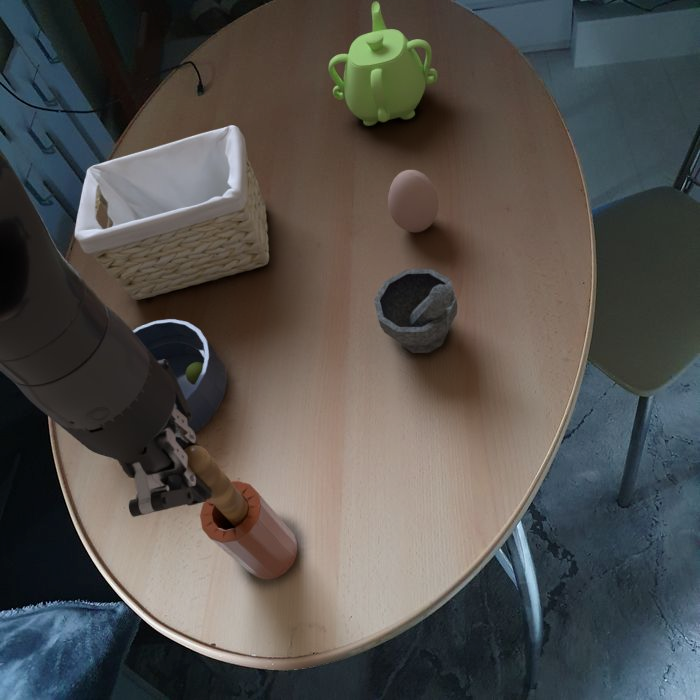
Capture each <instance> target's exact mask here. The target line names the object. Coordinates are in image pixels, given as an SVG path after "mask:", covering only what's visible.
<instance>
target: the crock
mask: <svg viewBox="0 0 700 700" xmlns="http://www.w3.org/2000/svg"><path fill="white" fill-rule="evenodd" d="M231 482H232V483H233V485H234V486H235V487H236V488H237V490H238V491H239V492H240V494H241V495H242V496H243V497H244V499H245V500H246V501H247V502H248V506H249V510H248V514H247V517H246V518H245V520H244V521H243V522H242V524H240V525H239V526H237V527H236V528H235V527H234V526H233V525H232V524H231V523H230V521H229V520H228V519H227V518H226V517H225V516H224V515H223V514H222V513H221V511H220V510H219V509H218V508H217V507H216V506H215V505H214V504H213V503H212V502H211V500H210V499H207V500H206V502H203V503H202V507H201V511H200V514H199V516H200V523H201V529H202V531H203V532H204V533H205V534H206V536H207V537H208V538H209V539H210V540H211V541H212V542H214V544H216V545H217V546H218V547H219V548H220V549H222V550H223V551H224V552H225V553H226V554H228V555H229V556H230V557H231V558H232V559H233V560H234V561H235V562H236V563H238V564H239V565H240V566H241V567H243V568H244V569H245V570H246V571H247V572H248V573H250V574H251V575H253V576H254V577H256V578H259V579H260V580H261V579H262V580H272V579H277V578H279V577H281V576H282V575H284V574H285V573H287V572H288V571H289V570H290V568H291V567H292V566H293V564H294V563H295V561H296V558H297V554H298V542H297V538H296V537H295V534H294V532H293V531H292V530H291V529H290V528H289V527H288V525H287V524H286V523H285V522H284V521H283V520H282V519H281V517H280V516H279V515H278V514H277V513H276V512H275V510H274V509H273V508H272V507H271V506H270V505H269V503H267V501H266V500H265V498H263V497H262V496H261V495H260V493H259V492H258V491H257V490H256V489H255V488H254V487H253V486H252V484H250V483H247V482H245V481H241V480H234V481H231Z"/></svg>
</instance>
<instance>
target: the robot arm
mask: <svg viewBox="0 0 700 700" xmlns="http://www.w3.org/2000/svg"><path fill="white" fill-rule="evenodd" d="M0 372H1V373H2V374H4V375H5V376H6V377H7V378H8V379H9V380H11V381H12V383H14V384H15V385H16V387H17V388H18V389H19V390H20V392H21V393H22V394H23V395H24V396H25V397H26V398H27V399H28V400H29V401H30V402H31V404H33V405H34V406H35V407H37V409H39V410H40V411H41V412H43V413H44V414H45V415H46V416H47V417H49V418H50V419H51V420H52V421H54V422H55V423H56V424H57V425H58V426H59V427H60V428H62V429H63V430H65V431H66V432H67V433H68V434H69V435H70V436H72V437H73V438H74V439H75V440H77V441H78V442H80V444H82V445H83V446H84V447H85V448H86V449H88V450H89V451H91V452H92V453H95V454H97V455H100V456H104V457H107V458H110V459H113V460H116V461H117V462H118V463H119V465H120V466H121V468H122V470H123V472H124V473H125V475H126V476H128V477H129V478H131V479H134V483H135V488H136V489H135V490H136V493H135V498H133V499H130V500H129V502H128V511H129V513H130V516H132V517H133V518H135V517H140V516H144V515H148V514H153V513H158V512H161V511H165V510H170V509H172V508H173V509H174V508H177V507H182V506H188V507H190V506H195V505H199V504H203V503H204V502H206V500H207V499H210V498H211V497H212V496H211V488H209V487H208V486H207V485H206V484H205V483H204V482H203V481H202V480H201V479H200V478H199V477H198V476H197V475H196V474H194V472H193V471H192V470H191V468H190V467H189V466H188V456H187V454H186V453H185V452H184V449H185V448H187V447H189V446H192V445H198V446H201V445H200V443H198V441H196V439H197V437H196V432H195V433H194V431H193V430H192V429H191V428H190V427H189V426H188V423H187V422H189V421H192V412H191V410H190V408H189V406H188V403H187V401H186V399H185V397H184V395H183V392H182V390H181V388H180V386H179V384H178V382H177V379H176V377H175V375H174V373H173V371H172V368H171V366H170V364H169V362H168V360H167V359H163V360H159V361H157V360H156V359H155V357H154V356H153V355H152V354H151V353H150V351H149V350H148V349H147V348H146V347H145V345H144V344H143V343H142V342H141V341H140V339H139V338H138V337H137V336H136V335H135V333H134V332H133V329H131V327H130V326H129V325H128V324H127V323H126V322H125V321H124V320H123V318H121V317H120V315H118V314H117V313H116V312H114V311H113V310H112V309H111V308H109V307H108V306H107V305H106V304H105V302H103V301H102V299H101V298H100V297H99V296H98V295H97V293H96V292H95V291H94V290H93V288H92V287H91V286H90V284H89V283H87V281H86V280H85V279H84V278H83V276H81V274H80V273H79V272H78V271H77V270H76V268H75V267H73V266H72V264H71V263H69V262H68V261H67V260H66V258H65V257H64V256H63V255H62V253H61V252H60V251H59V249H58V248H57V245H56V243H55V242H54V240H53V238H52V235H51V234H50V231H49V230H48V228H47V225H46V224H45V222H44V219H43V218H42V216H41V214H40V212H39V211H38V209H37V207H36V206H35V204H34V202H33V200H32V199H31V197H30V195H29V193H28V191H27V189H26V188H25V186H24V184H23V183H22V181H21V179H20V178H19V175H18V174H17V173H16V170H15V169H14V167H13V166H12V165H11V163H10V161H9V159H7V157H6V155H5V154H4V153H3V151H2V150H1V149H0ZM175 403H176V406H177V408H178V410H177V409H176V408H175Z"/></svg>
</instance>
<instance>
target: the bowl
mask: <svg viewBox="0 0 700 700" xmlns="http://www.w3.org/2000/svg"><path fill="white" fill-rule="evenodd" d="M132 331H133V332H134V333H135V335H136V336H137V337H138V338H139V339H140V341H141V342H142V343H143V344H144V345H145V347H146V348H147V349H148V350H149V351H150V353H151V354H152V355H153V356H154V357H155V359H156V360H157V361H159V360H163V359H167V360H168V362H169V364H170V366H171V368H172V371H173V373H174V375H175V377H176V379H177V382H178V384H179V386H180V388H181V390H182V392H183V395H184V397H185V399H186V401H187V403H188V406H189V408H190V410H191V412H192V421H189V422H187V423H188V426H189V427H190V428H191V429H192V430H193V431H194V433H195V434H196V433H197V432H198V431H200V429H202V428H203V427H204V426H205V425H206V424H207V423H208V422H209V421H210V420H211V418H213V417H214V415H215V414H216V413H217V412H218V409H219V407H220V405H221V404H222V402H223V400H224V398H225V394H226V388H227V384H228V376H227V371H226V366H225V364H224V363H223V361H222V359H221V357H220V356H219V355H218V354H217V352H216V351H215V349H214V347H213V346H212V345H211V343H210V342H209V341H208V339H207V338H206V336H205V334H204V333H203V331H202V330H201V329H200V328H199V327H197V326H195V325H193V324H192V323H191V322H189V321H186V320H181V319H176V318H168V319H158V320H154V321H153V320H152V321H151V322H148V323H146V324H143V325H140V326H138V327H136V328H134V329H132ZM195 362H201V363H203V368H202V372H201V374H200V376H199V378H198V379H197V381H196V383H195V385H193V384H191V383H190V382H189V381H188V380H187V378H186V370H187V368H188V366H189V365H191V364H192V363H195ZM175 408H176V409H177V410H178V408H177V406H176V403H175Z"/></svg>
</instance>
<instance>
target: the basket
mask: <svg viewBox="0 0 700 700" xmlns="http://www.w3.org/2000/svg"><path fill="white" fill-rule="evenodd" d="M255 175H256V174H255V172H254V169H253V167H252V164H251V163H250V161H249V157H248V152H247V145H246V138H245V136H244V134H243V133H242V132H241V129H240V128H239V127H238V126H236V125H232V124H231V125H228V126H225V127H220V128H217V129H214V130H209V131H205V132H201V133H198V134H195V135H192V136H191V135H190V136H188V137H185V138H182V139H179V140H175V141H172V142H169V143H165V144H161V145H158V146H155V147H153V148H149V149H145V150H142V151H138V152H135V153H131V154H128V155H124V156H121V157H118V158H113V159H110V160H108V161H104V162H100V163H97V164H94V165H92V166H91V165H90V167H88V168H87V170H86V175H85V178H84V180H83V181H84V182H83V185H82V190H81V195H80V201H79V206H78V211H77V215H76V222H75V228H74V238H75V239H76V241H78V244H79V246H80V249H81V250H82V251H83V253H85V254H86V255H91V256H92V257H93V258H95V260H96V261H97V262H98V263H99V264H100V266H101V267H102V268H103V269H104V270H105V271H106V273H107V274H108V276H110V277H111V278H113V279H114V280H115V282H116V284H118V285H119V286H121V287H122V288H123V290H124V292H126V293H127V294H128V295H129V296H130V297H131V298H132V300H136V301H139V300H143V299H147V298H153V297H156V296H158V295H162V294H168V293H170V292H173V291H176V290H182V289H185V288H188V287H192V286H197V285H200V284H203V283H206V282H210V281H216V280H218V279H221V278H224V277H228V276H234V275H236V274H239V273H244V272H247V271H252V270H254V269H257V268H261V267H264V266H266V265H268V263H269V261H270V253H269V251H270V246H269V235H268V229H269V228H268V222H267V213H266V212H267V210H266V209H267V207H266V203H265V200H264V197H263V195H262V192H261V188H260V187H259V181H258V180H257V177H256V176H255ZM100 205H102V207H103V209H104V210H105V212H106V214H107V217H108V218H107V224H106V228H103V227H102V225H100V222H99V219H100V218H99V217H98V216H97V215H98V211H99V208H100Z"/></svg>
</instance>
